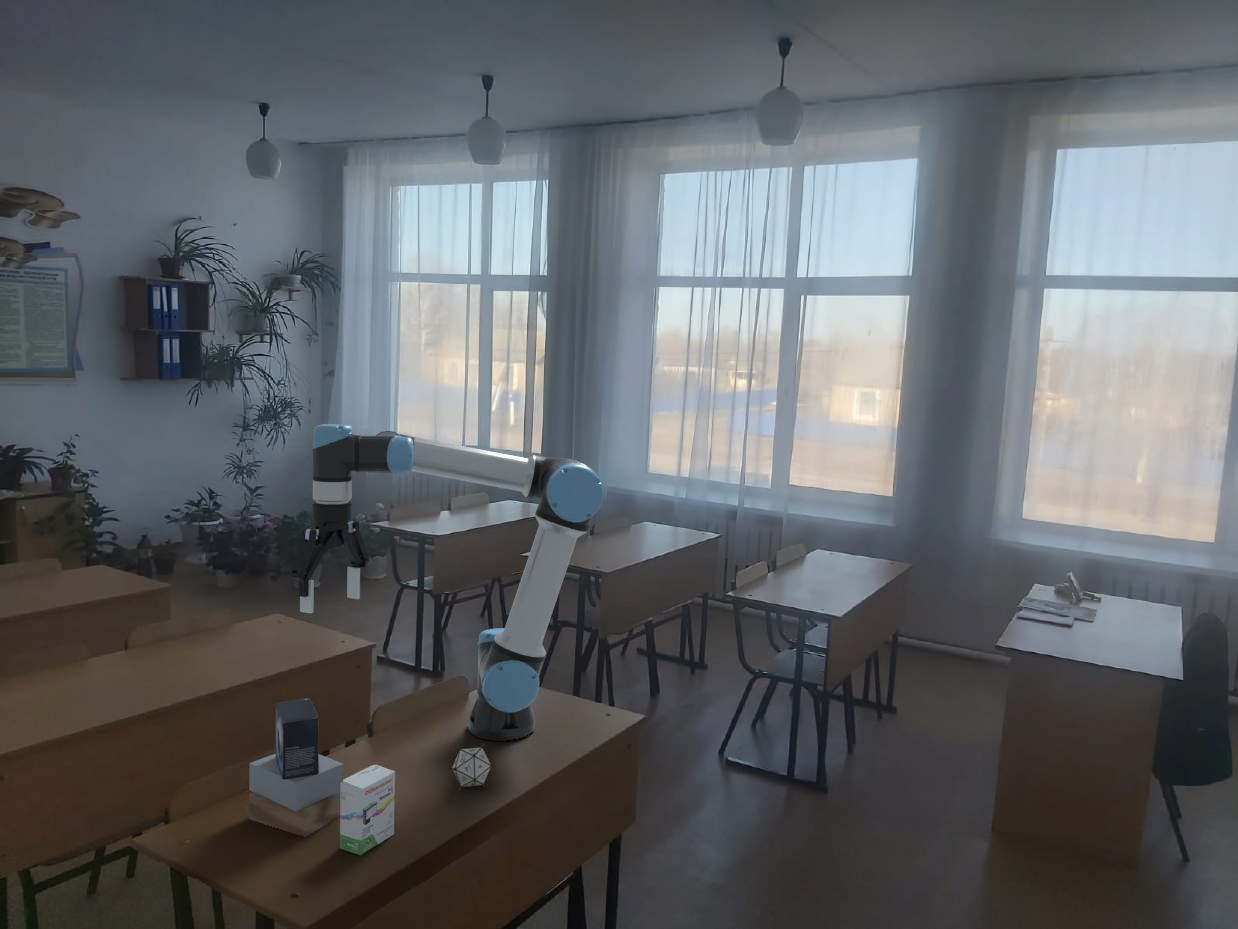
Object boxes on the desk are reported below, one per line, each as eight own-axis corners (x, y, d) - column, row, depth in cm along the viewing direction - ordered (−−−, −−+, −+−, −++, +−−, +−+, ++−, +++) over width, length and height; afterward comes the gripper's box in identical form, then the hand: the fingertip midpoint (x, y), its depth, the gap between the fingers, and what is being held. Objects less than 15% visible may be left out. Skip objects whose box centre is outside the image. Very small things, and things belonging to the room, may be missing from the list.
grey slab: (296, 771, 168) (296, 745, 168) (342, 790, 161) (343, 763, 161) (249, 790, 160) (249, 763, 159) (295, 811, 153) (296, 783, 152)
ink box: (360, 856, 148) (361, 788, 147) (338, 848, 150) (339, 781, 149) (395, 834, 156) (396, 769, 155) (373, 827, 158) (374, 763, 157)
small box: (273, 757, 162) (273, 701, 162) (310, 751, 165) (311, 696, 165) (280, 780, 153) (281, 721, 152) (320, 774, 156) (320, 716, 155)
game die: (476, 808, 174) (482, 782, 168) (438, 788, 175) (443, 762, 169) (498, 771, 181) (505, 745, 174) (461, 752, 182) (467, 725, 176)
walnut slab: (290, 798, 168) (290, 773, 167) (345, 814, 163) (345, 788, 162) (248, 821, 159) (249, 794, 158) (305, 839, 154) (305, 811, 153)
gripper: (358, 493, 192) (357, 590, 194) (270, 506, 169) (270, 616, 171) (386, 496, 189) (385, 595, 191) (301, 510, 166) (300, 621, 168)
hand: (330, 605), depth 181 cm, fingers open, 13 cm apart
